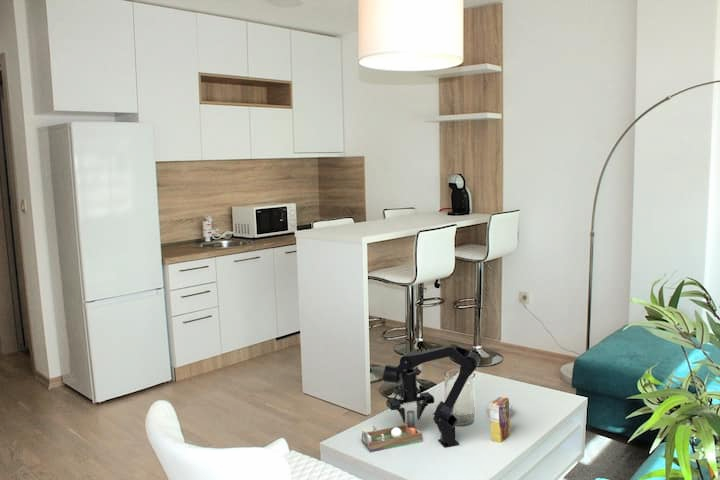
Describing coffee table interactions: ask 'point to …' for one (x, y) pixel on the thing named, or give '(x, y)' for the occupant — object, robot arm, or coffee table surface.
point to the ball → (396, 432)
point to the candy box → (500, 419)
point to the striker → (410, 423)
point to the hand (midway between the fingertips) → (411, 421)
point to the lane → (388, 438)
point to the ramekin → (489, 408)
